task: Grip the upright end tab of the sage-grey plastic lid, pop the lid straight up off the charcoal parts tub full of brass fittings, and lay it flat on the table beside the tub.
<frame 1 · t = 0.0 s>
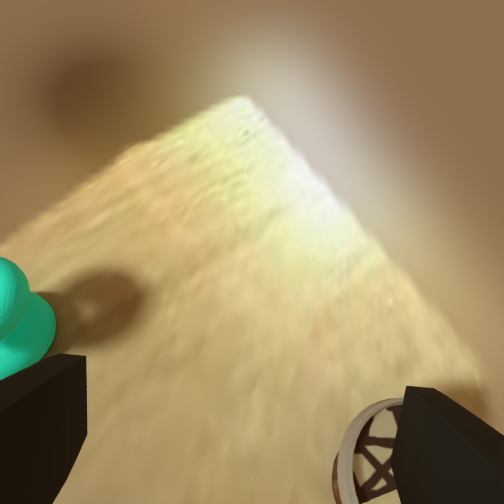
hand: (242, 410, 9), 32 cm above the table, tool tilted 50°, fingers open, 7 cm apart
food container: (367, 453, 38), on the table
donuts: (11, 339, 42), on the table
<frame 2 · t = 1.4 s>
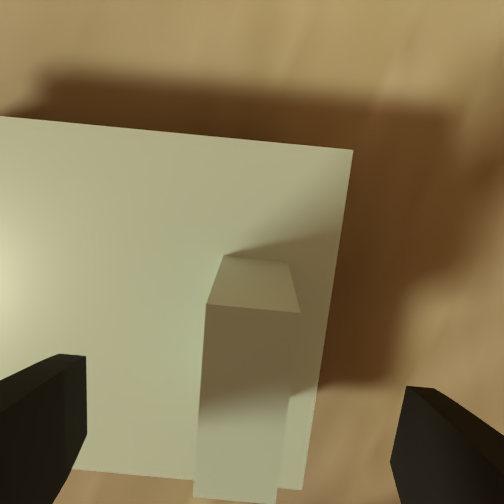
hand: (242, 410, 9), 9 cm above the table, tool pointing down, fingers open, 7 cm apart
lid: (106, 306, 14), point 3 cm above the table, touching tub
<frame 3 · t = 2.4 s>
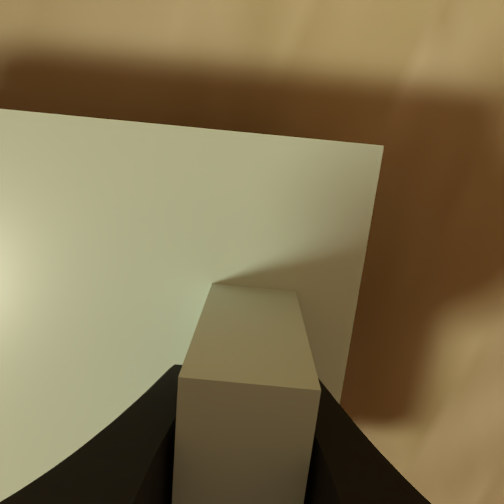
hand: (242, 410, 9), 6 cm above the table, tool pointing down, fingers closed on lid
lid: (67, 342, 11), point 3 cm above the table, touching gripper, tub
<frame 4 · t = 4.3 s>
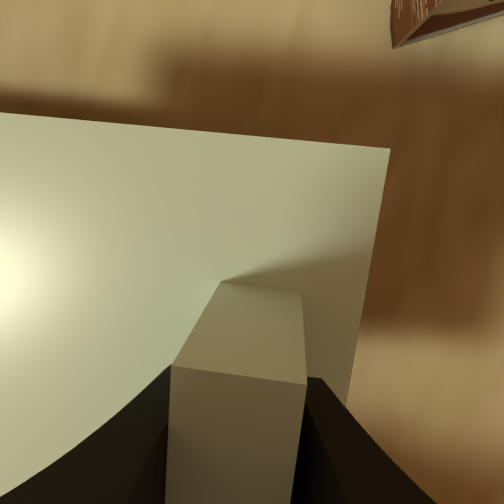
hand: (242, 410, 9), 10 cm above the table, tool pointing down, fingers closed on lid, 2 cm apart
lid: (86, 335, 12), point 8 cm above the table, touching gripper
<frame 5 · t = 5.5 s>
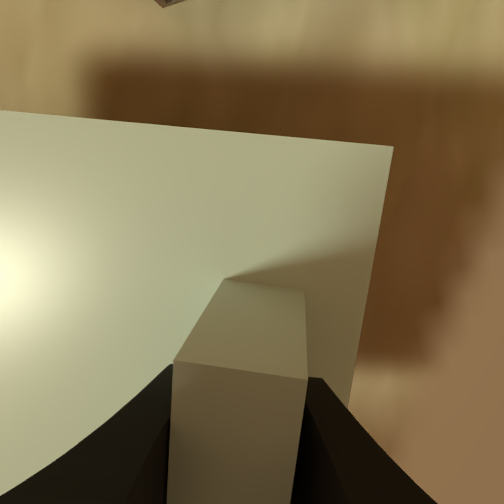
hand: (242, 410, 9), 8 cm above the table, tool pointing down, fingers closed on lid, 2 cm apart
lid: (91, 331, 12), point 5 cm above the table, tilted 6°, touching gripper
when the fingers open (4 cm above the table, at t = 6.4 s): lid drops 1 cm, on the table.
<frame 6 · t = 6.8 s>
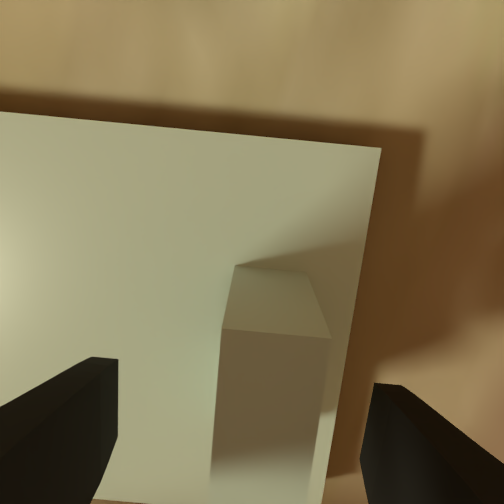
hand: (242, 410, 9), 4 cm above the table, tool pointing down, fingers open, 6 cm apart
lid: (105, 319, 12), on the table
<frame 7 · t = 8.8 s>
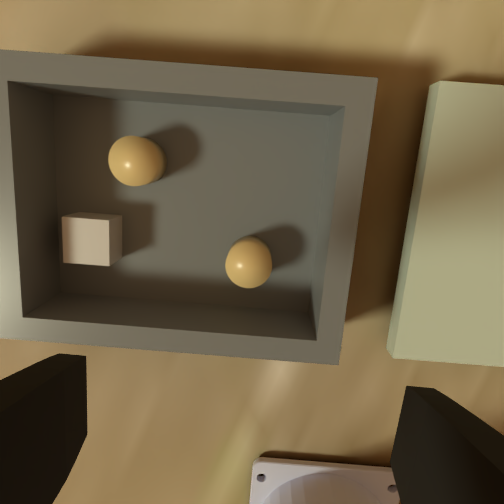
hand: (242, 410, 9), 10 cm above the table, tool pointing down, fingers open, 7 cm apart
tub: (189, 208, 18), on the table
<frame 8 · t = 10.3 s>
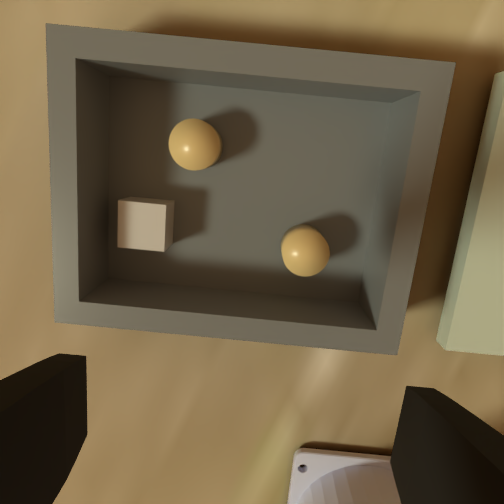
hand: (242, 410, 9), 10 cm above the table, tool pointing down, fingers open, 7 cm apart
tub: (241, 195, 18), on the table
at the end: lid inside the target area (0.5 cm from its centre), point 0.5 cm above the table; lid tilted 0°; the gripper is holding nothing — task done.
